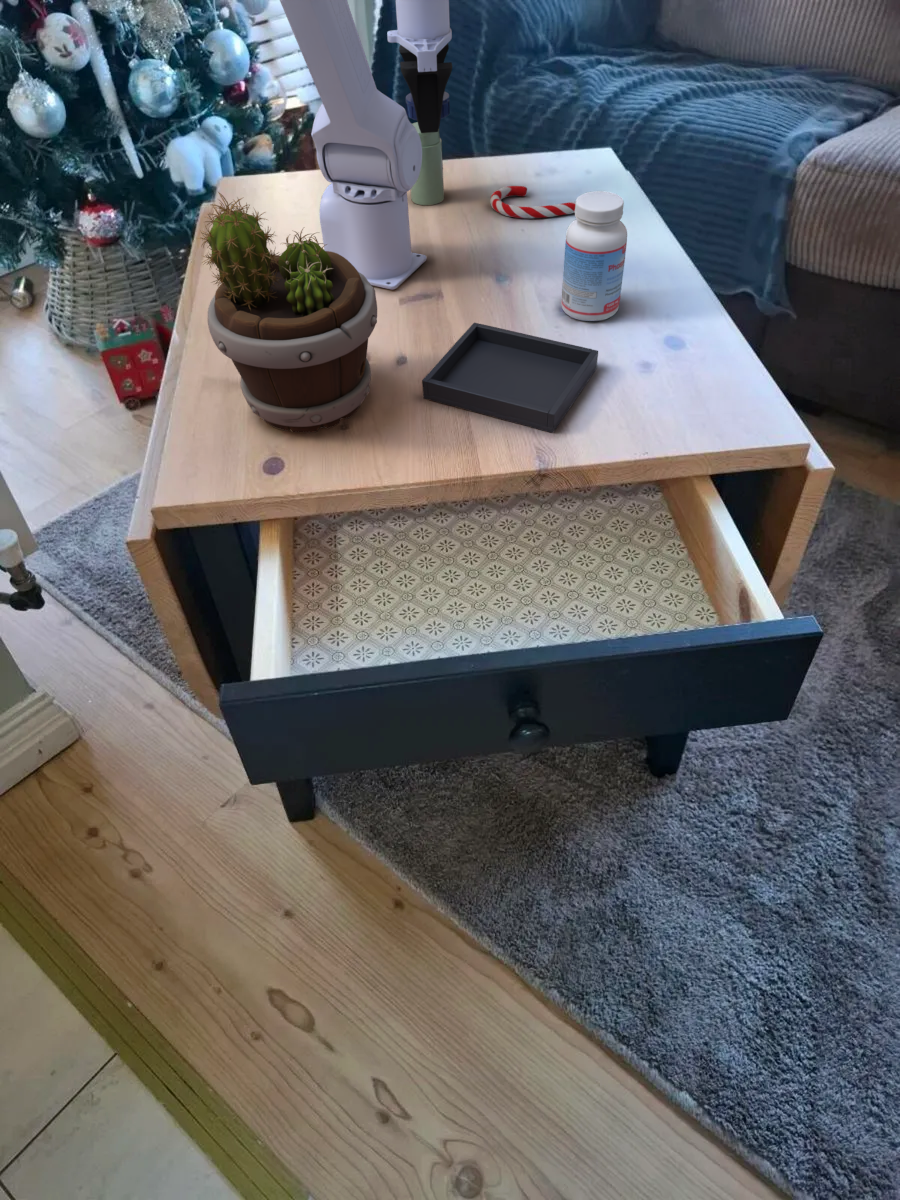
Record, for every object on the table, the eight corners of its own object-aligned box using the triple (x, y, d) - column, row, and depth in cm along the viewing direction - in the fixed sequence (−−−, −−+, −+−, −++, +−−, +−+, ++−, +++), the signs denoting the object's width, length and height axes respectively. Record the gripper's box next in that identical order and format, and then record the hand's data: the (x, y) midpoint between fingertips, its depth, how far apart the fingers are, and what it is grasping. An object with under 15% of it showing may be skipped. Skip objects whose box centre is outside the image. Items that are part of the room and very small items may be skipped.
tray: (423, 398, 79) (421, 380, 78) (474, 339, 86) (474, 322, 84) (553, 433, 75) (554, 414, 73) (596, 368, 81) (598, 350, 80)
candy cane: (613, 206, 102) (490, 210, 103) (612, 217, 103) (490, 221, 104) (606, 180, 107) (489, 184, 108) (605, 190, 108) (489, 194, 109)
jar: (405, 202, 108) (400, 130, 102) (420, 189, 111) (415, 118, 104) (435, 207, 107) (431, 134, 101) (449, 194, 110) (446, 122, 103)
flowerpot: (379, 350, 85) (355, 138, 70) (394, 442, 75) (370, 216, 60) (235, 366, 84) (180, 154, 69) (230, 461, 74) (164, 237, 59)
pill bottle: (616, 325, 86) (630, 216, 78) (557, 321, 87) (564, 212, 79) (620, 296, 90) (633, 189, 82) (564, 292, 91) (571, 186, 83)
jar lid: (457, 109, 98) (457, 92, 97) (436, 123, 95) (435, 106, 94) (421, 104, 100) (420, 87, 99) (398, 117, 97) (397, 100, 96)
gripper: (382, -32, 93) (393, 103, 103) (384, 2, 83) (395, 148, 94) (446, -36, 93) (450, 100, 103) (454, -2, 84) (458, 144, 94)
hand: (428, 123), depth 99 cm, fingers closed on jar lid, 5 cm apart
